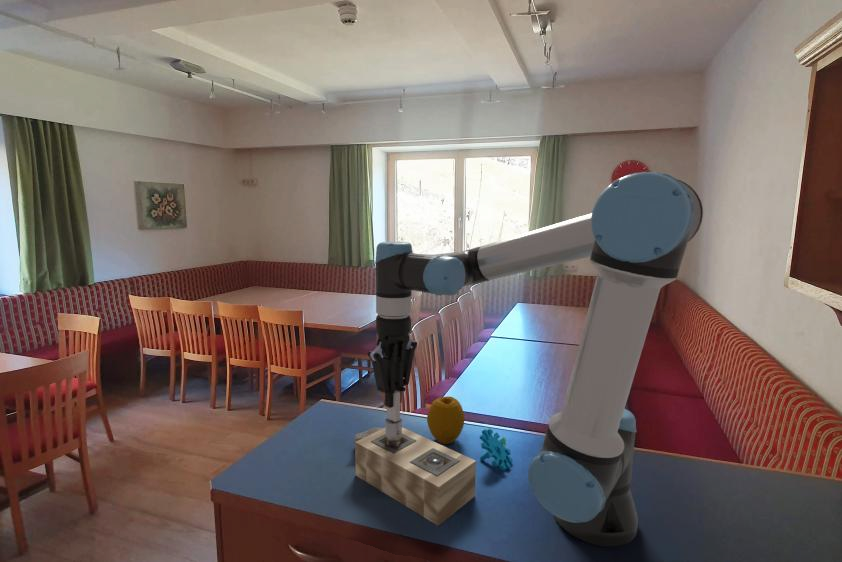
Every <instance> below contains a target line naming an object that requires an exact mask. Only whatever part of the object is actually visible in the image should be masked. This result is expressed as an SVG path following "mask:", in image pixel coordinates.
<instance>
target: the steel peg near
mask: <svg viewBox="0 0 842 562" xmlns="http://www.w3.org/2000/svg"><path fill="white" fill-rule="evenodd" d="M426 466H428V467H430V468H432V469H434V470H438V469H440V468H441V467H443V466H444V459H443V458H442V457H441V456H438V455H431V456H429V457H427V458H426Z"/></svg>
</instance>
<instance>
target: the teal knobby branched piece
mask: <svg viewBox="0 0 842 562" xmlns="http://www.w3.org/2000/svg"><path fill="white" fill-rule="evenodd" d="M500 437H501V436H500V434H499V433H498V432H495V433H494V431H493V429H491V428H488V429H483V430H482V431H481V435H479V440H480V441H482V442H480V447H481V448H482V449H483V450H486V452H485V453H484V454H482V455H480V457H479V460H480V461H482V462H483V461H485V460H486V459H488V460H489V459H491V458H493V460H492V461H491V463H492V465H493V466H494V467H497V466H498V467H499V470H501V471H504V470H509V469H510V468H511V467H512V466H511V465H512V463H513V458H512V457H511V456H510V455H511V449H509V448H506V447H507V446H506V445H507V438H506V437H504V436H503V437H502V438H500ZM499 438H500V439H499Z"/></svg>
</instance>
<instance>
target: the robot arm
mask: <svg viewBox="0 0 842 562" xmlns="http://www.w3.org/2000/svg"><path fill="white" fill-rule="evenodd" d="M703 207H704V206H703V202H702V199H701V198H700V196H699V194H698V193H697V192H696V191H695V189H694V188H693V187H692V186H691V185H689V184H688V183H686V182H684V181H682V180H680V179H678V178H676V177H674V176H672V175H669V174H667V173H661V172H658V171H653V172H652V171H642V172H641V171H640V172H635V173H630V174H627V175H624V176H623V177H620V178H618V179H616V180H615V181H613V182H612V183H610V184H609V185H608V186H606V188H605V189H604V190H602V192H601V194H599V196H598V198H597V199H596V201H595V203H594V205H593V208H592V212H591V213H588V214H585V215H581V216H577V217H575V218H570V219H568V220H567V219H566V220H564V221H560V222H557V223H554V224H551V225H548V226H544V227H540V228H537V229H534V230H531V231H528V232H523V233H521V234H518V235H513V236H511V237H507V238H505V239H501V240H497V241H493V242H490V243H487V244H484V245H480V246H477V247H472V248H470V249H466V250H462V251H457V252H447V253H436V254H428V253H427V254H423V253H414V252H413V247H412V244H411V243H410V242H408V241H382V242H381V241H380V242H379V243H378V244H377V245H376V247H375V248H376V250H375V261H374V264H375V313H376V317H375V332H376V333H377V336H378V338H377V342H376V347H375V348H374V349H373V351H372V350H369V351H368V352H367V356H368V358H369V360H370V361H371V366H372V370H373V375H374V380H375V385H376V389H377V391H379V392H381V393H383V394H384V405H385V407H386V419H389V420H392V421H394V422H397V421H399V420H400V418H401V404H402V400H403V398H402V395H403V394H402V392H405V391H406V387H405V386H409V383H410V379H411V374H412V373H411V372H412V367H413V360H414V354H415V351H416V348H417V346H418V341H415V340H412V339H410V333H411V332H412V317H411V314H412V310H413V309H412V308H413V307H412V292H413V291H414V292H415V291H416V292H421V293H427V294H433V295H435V296H448V297H449V296H450V297H451V296H455V295H457V294H458V293H459V291H460V290H462V289H463V288H464V287H466V286H468V287H469V286H472V285H473V286H475V285H478V284H482V283H485V282H488V281H493V280H497V279H500V278H501V279H502V278H505V277H509V276H514V275H517V274H523V273H526V272H531V271H535V270H540V269H544V268H548V267H552V266H557V265H561V264H565V263H569V262H575V261H578V260H582V259H587V258H589V261H590V264H591V265H592V266H593V268H594V269H595V271H596V274H597V275H596V279H595V282H594V286H593V290H592V294H591V298H590V302H589V305H588V310H587V314H586V317H585V321H584V324H583V329H582V331H581V335H580V339H579V344H578V348H577V351H576V356H575V359H574V362H573V367H572V370H571V374H570V379H569V381H568V382H569V383H568V386H567V391H566V394H565V397H564V401H563V404H562V405H563V406H562V409H561V411H560V412H558V413H557V412H556V413H554V414H553V415H552V416H550V419H549V420H548V425H547V428H546V433H545V436H544V440H543V443H542V446H541V447H542V448H540V449H541V450H540V451H539V452H538V453H537V454H536V455H534V456H533V457H532V460H531V462H530V463H529V464H530V465H529V467H528V472H527V477H528V483H529V486H530V488H531V491H532V493H533V494H534V495H535V496H536V499H537V501H538V502H539V503H540V504H541V506H542V507H543V508H545V509H546V510H547V511H548V512H549V513H551V514H552V515H553V516H554V518H555V520H556V522H557V523H558V525H559V526H560V527H561V528H562V529H563V530H564V531H565V532H567V533H568V534H570V535H571V536H573V537H574V538H576V539H578V540H580V541H582V542H585V543H588V544H590V545H594V546H599V547H609V548H610V547H612V548H613V547H622V546H624V545H627V544H630V543H631V542H632V541H633V540H634V539H635V538H636V536H637V533H638V525H639V524H638V523H639V519H638V514H637V510H636V506H635V503H634V502H635V501H634V499H633V495H632V492H631V485H632V484H631V481H632V472H633V462H634V451H635V450H634V449H635V440H636V433H637V425H636V421H637V419H636V417H635V415H634V414H633V413H632V412H631V411H630V410H628V409H626V405H627V401H628V399H629V395H630V392H631V388H632V385H633V383H634V378H635V374H636V371H637V368H638V366H639V361H640V358H641V355H642V351H643V349H644V346H645V341H646V337H647V334H648V331H649V328H650V325H651V322H652V318H653V315H654V312H655V308H656V305H657V301H658V299H659V295H660V292H661V289H662V288H663V287H664V286H666V285H668V284H670V283H672V282H674V281H675V280H677V278H678V274H679V272H680V271H679V270H680V268H681V265H682V263H683V258H684V256H685V252H686V249H687V246H688V243H690V241H691V240H692V239H693V238H694V237H696V234H697V233H698V231H699V230H700V228H701V226H702V222H703V218H704V208H703Z"/></svg>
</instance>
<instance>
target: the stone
mask: <svg viewBox="0 0 842 562" xmlns="http://www.w3.org/2000/svg"><path fill="white" fill-rule="evenodd" d="M383 428H384V427H381V426H380V427H378V426H377V427H376V426H375V427H372V428H370V429H367V430H364V431H362V432H359V433H356V434H354V438H353V440H354V443H355V442H356V441H359V440H361V439H363V438H365V437H367V436H369V435H371V434H373V433H375V432H377V431H379V430H381V429H383Z"/></svg>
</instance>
